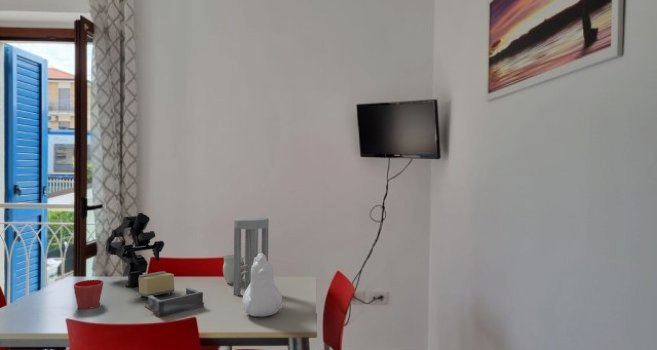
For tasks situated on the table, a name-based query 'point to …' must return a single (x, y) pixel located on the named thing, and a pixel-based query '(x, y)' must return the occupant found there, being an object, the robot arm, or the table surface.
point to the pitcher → (231, 268)
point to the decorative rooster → (262, 290)
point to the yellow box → (156, 284)
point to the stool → (248, 247)
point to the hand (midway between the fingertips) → (148, 262)
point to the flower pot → (88, 293)
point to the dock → (174, 303)
